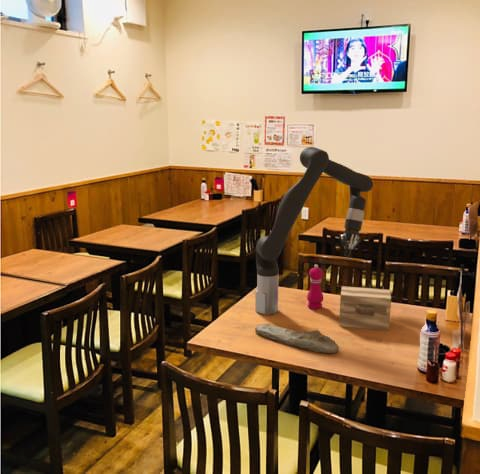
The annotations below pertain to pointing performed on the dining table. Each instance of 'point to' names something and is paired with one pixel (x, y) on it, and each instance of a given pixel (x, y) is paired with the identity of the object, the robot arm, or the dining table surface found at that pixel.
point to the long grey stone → (298, 338)
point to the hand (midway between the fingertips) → (346, 256)
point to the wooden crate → (365, 308)
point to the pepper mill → (315, 289)
